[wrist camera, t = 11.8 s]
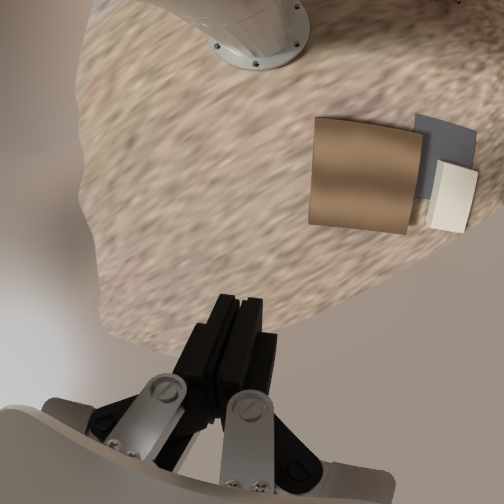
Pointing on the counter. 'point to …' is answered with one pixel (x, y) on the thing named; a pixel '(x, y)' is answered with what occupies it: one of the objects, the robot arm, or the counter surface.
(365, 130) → the brown square plate
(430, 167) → the mat
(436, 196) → the white rectangular block
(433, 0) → the dragon fruit
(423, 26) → the counter surface
